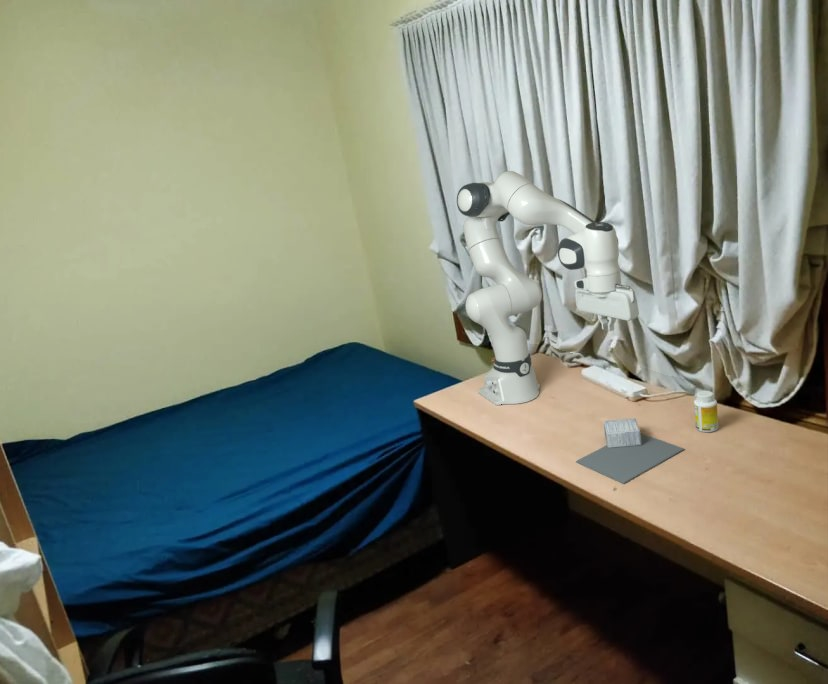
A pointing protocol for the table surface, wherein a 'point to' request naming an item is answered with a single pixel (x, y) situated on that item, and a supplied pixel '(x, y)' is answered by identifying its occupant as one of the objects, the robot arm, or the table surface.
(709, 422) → the supplement bottle
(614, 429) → the medicine box
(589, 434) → the table surface
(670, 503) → the table surface
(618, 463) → the mat
